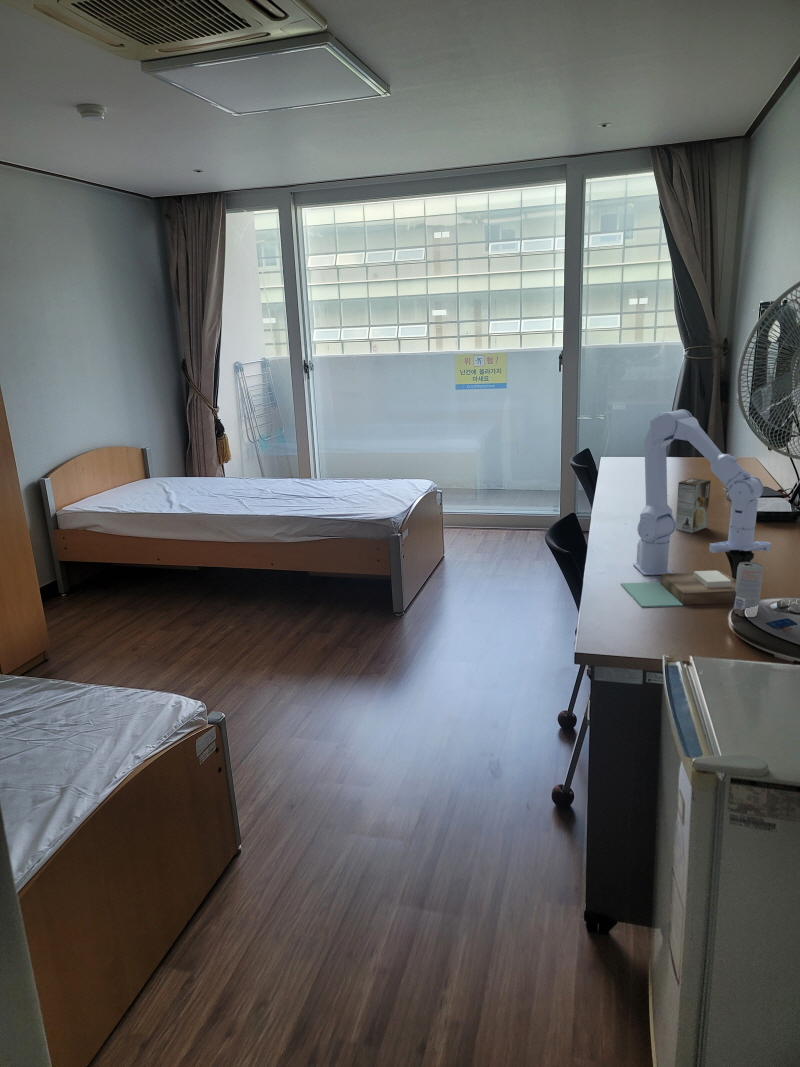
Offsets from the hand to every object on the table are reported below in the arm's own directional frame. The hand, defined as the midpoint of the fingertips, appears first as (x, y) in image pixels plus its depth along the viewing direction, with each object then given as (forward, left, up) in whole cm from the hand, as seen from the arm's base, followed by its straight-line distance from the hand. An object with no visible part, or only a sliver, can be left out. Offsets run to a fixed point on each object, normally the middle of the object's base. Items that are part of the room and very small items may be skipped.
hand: (736, 578), depth 182 cm
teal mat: (0, -21, -4) cm, 22 cm away
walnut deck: (0, -8, -4) cm, 9 cm away
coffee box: (-58, +13, -4) cm, 60 cm away
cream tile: (0, -6, -1) cm, 6 cm away
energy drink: (+14, -4, -4) cm, 15 cm away
